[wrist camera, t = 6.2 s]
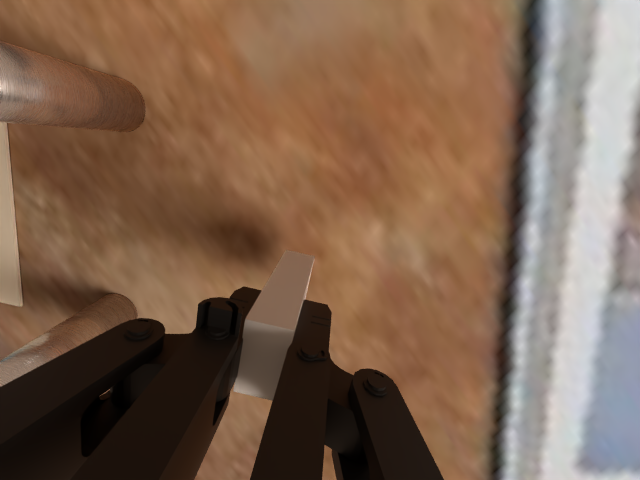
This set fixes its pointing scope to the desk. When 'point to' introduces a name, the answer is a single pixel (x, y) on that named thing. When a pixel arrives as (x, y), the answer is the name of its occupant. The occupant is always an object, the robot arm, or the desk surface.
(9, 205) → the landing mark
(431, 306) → the desk surface
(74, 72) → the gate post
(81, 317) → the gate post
